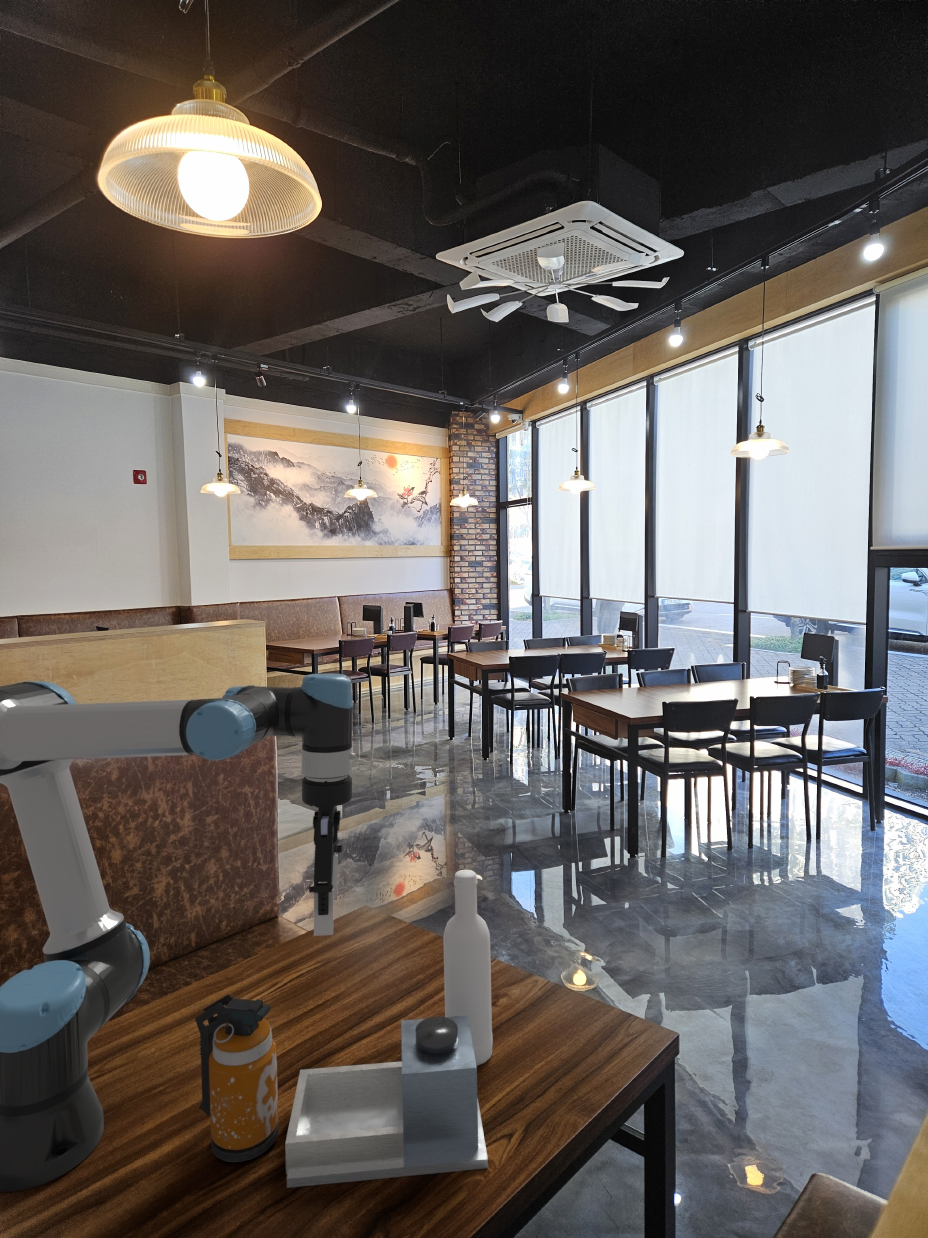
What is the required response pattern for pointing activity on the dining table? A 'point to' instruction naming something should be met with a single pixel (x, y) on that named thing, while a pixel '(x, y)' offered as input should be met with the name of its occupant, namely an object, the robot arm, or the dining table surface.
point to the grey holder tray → (390, 1112)
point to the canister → (239, 1078)
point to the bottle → (469, 966)
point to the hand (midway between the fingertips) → (326, 913)
